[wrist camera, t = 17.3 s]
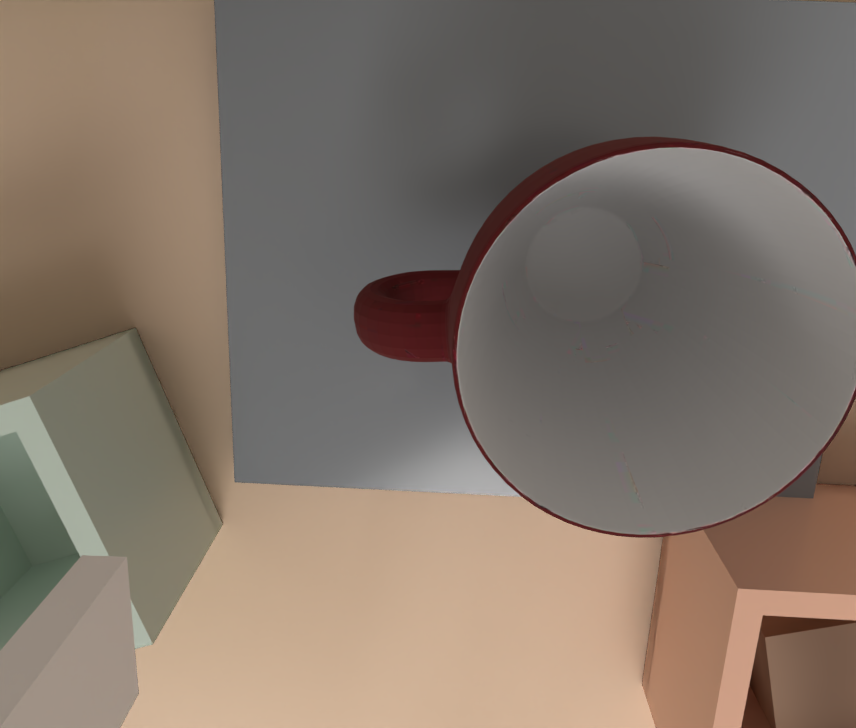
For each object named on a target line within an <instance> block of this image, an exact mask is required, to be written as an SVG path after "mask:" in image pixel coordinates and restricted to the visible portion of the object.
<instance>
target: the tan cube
mask: <svg viewBox="0 0 856 728" xmlns="http://www.w3.org/2000/svg"><path fill="white" fill-rule="evenodd" d="M749 685H750V687H751V689H752V691H753V693H754V695H755V697H756V699H757V701H758V703H759V705H760V706H761V708H762V710H763V712H764V714H765V716H766V718H767V720H768V722H769V724H770V726H771V728H856V620H839V619H821V618H803V617H784V616H766V615H763V617H762V622H761V627H760V632H759V637H758V643H757V648H756V653H755V658H754V663H753V668H752V673H751V679H750V684H749Z"/></svg>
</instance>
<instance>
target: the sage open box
mask: <svg viewBox="0 0 856 728" xmlns="http://www.w3.org/2000/svg"><path fill="white" fill-rule="evenodd" d="M222 525H223V524H222V521H221V519H220V517H219V515H218V512H217V510H216V508H215V506H214V503H213V501H212V499H211V497H210V494H209V492H208V490H207V488H206V485H205V483H204V481H203V479H202V476H201V474H200V472H199V470H198V467H197V465H196V463H195V461H194V458H193V456H192V454H191V452H190V449H189V447H188V445H187V443H186V440H185V438H184V436H183V434H182V431H181V429H180V427H179V425H178V422H177V420H176V418H175V416H174V413H173V411H172V409H171V407H170V404H169V402H168V400H167V398H166V395H165V393H164V391H163V389H162V386H161V384H160V382H159V380H158V377H157V375H156V373H155V371H154V368H153V366H152V364H151V362H150V359H149V357H148V355H147V353H146V350H145V348H144V346H143V344H142V341H141V339H140V337H139V334H138V332H137V330H136V328H133V329H130V330H127V331H123V332H120V333H117V334H114V335H111V336H108V337H105V338H102V339H98V340H95V341H92V342H89V343H86V344H83V345H80V346H76V347H73V348H70V349H67V350H64V351H61V352H58V353H54V354H51V355H48V356H45V357H42V358H39V359H36V360H33V361H29V362H26V363H23V364H20V365H17V366H14V367H11V368H7V369H4V370H1V371H0V651H1V649H2V648H3V647H4V646H5V645H6V643H7V642H8V641H9V640H10V639H11V638H12V636H13V635H14V634H15V633H16V632H17V631H18V629H19V628H20V627H21V626H22V625H23V624H24V622H25V621H26V620H27V619H28V618H29V617H30V615H31V614H32V613H33V612H34V611H35V610H36V608H37V607H38V606H39V605H40V604H41V603H42V601H43V600H44V599H45V598H46V597H47V596H48V594H49V593H50V592H51V591H52V590H53V588H54V587H55V586H56V585H57V584H58V583H59V581H60V580H61V579H62V578H63V577H64V576H65V574H66V573H67V572H68V571H69V570H70V569H71V567H72V566H73V565H74V564H75V563H76V562H77V560H78V559H79V558H80V557H81V556H82V555H89V556H117V557H127V564H128V575H129V587H130V598H131V610H132V621H133V633H134V644H135V649H137V648H141V647H144V646H148V645H152V644H153V643H154V642H155V640H156V638H157V636H158V635H159V633H160V631H161V630H162V628H163V626H164V624H165V623H166V621H167V619H168V618H169V616H170V614H171V612H172V611H173V609H174V607H175V606H176V604H177V602H178V600H179V599H180V597H181V595H182V594H183V592H184V590H185V588H186V587H187V585H188V583H189V582H190V580H191V578H192V576H193V575H194V573H195V571H196V570H197V568H198V566H199V564H200V563H201V561H202V559H203V558H204V556H205V554H206V552H207V551H208V549H209V547H210V546H211V544H212V542H213V541H214V539H215V537H216V535H217V534H218V532H219V530H220V529H221V527H222Z"/></svg>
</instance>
